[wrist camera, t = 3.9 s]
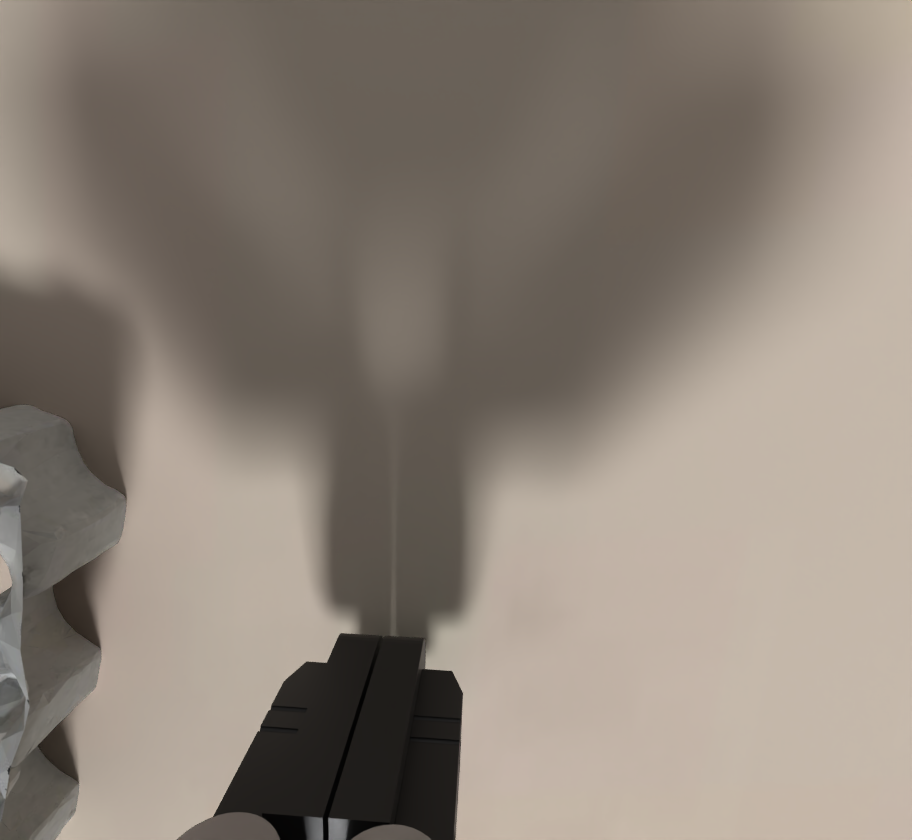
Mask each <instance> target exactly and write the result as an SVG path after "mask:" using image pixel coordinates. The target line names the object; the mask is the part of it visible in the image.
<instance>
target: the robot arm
mask: <svg viewBox="0 0 912 840" xmlns="http://www.w3.org/2000/svg"><path fill="white" fill-rule="evenodd" d="M425 656H426V642H425V638H410V637H394V636H384V637H382V636H376V635H360V634H345V633H341V634H340V635H339V637H338V639H337V641H336V643H335V646H334V648H333V650H332V653H331V655H330V657H329V659H328V662H327V663H319V662H306V663H304V664H303V665H302V666H301V667H300V668H299V669H298V670H296V671H295V672H294V673H293V674H292V675H291V676H290V677H288V678H287V679H286V680H285V681H284V682H283V684H282V686H281V688H280V690H279V692H278V694H277V696H276V698H275V700H274V702H273V703H272V705H271V710H269V711H268V713H267V715H266V717H265V719H264V721H263V723H262V724H261V728H260V732H259V731H258V732H257V734H256V736H255V738H254V740H253V742H252V744H251V745H250V747H249V749H248V751H247V753H246V755H245V757H244V759H243V761H242V763H241V765H240V766H239V768H238V770H237V772H236V774H235V776H234V778H233V780H232V782H231V784H230V786H229V788H228V789H227V791H226V793H225V795H224V797H223V799H222V801H221V803H220V805H219V807H218V809H217V810H216V812H215V814H214V816H213V817H212V818H209V819H207V820H205V821H203V822H201V823H199V824H197V825H195V826H194V827H192V828H191V829H189V830H188V831H186V832H185V833H184V834H183V835H181V836H180V837H179V838H178V839H177V840H455V838H456V821H457V805H458V788H459V772H460V749H461V725H462V701H463V693H462V690H461V688H460V686H459V684H458V682H457V680H456V678H455V676H454V674H453V672H452V671H442V670H427V669H425Z"/></svg>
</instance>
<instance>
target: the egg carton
mask: <svg viewBox="0 0 912 840" xmlns="http://www.w3.org/2000/svg"><path fill="white" fill-rule="evenodd" d="M125 513H126V498H125V496H124V495H123V494H121V493H120V492H119V491H118V490H116V489H113V488H111V487H109V486H107V485H106V484H104V483H103V482H101V481H100V480H99V479H98V478H97V477H96V476H95V475H93V474H92V473H91V472H90V470H89V469H88V468H87V466H86V465H85V464H84V462H83V460H82V457H81V455H80V453H79V451H78V449H77V446H76V442H75V438H74V434H73V428H72V426H71V425H70V423H69V422H68V421H67V420H66V419H64V418H61V417H59V416H57V415H54V414H51V413H48V412H45V411H42V410H40V409H38V408H37V407H35V406H32V405H15V406H11V407H6V408H2V409H0V555H1V556H2V558H3V559H4V561H5V563H6V564H7V566H8V567H9V571H10V575H11V579H12V587H10V588H9V589H7V590H6V591H4V592H3V593H1V594H0V840H55V839H56V838H57V836H58V835H59V834H60V832H61V830H62V828H63V827H64V826H65V825H66V823H67V822H68V821H69V820H70V819H71V817H72V816H73V815H74V813H75V811H76V805H77V799H78V793H79V783H78V782H77V781H76V780H75V779H73V778H72V777H70V776H68V775H66V774H65V773H63V772H61V771H60V770H59V769H57V768H56V767H55V766H54V765H53V764H52V763H51V762H50V761H49V760H48V759H46V757H45V756H44V755H43V754H42V752H41V751H40V749H39V747H38V746H37V745H38V744H39V743H40V742H41V741H42V740H43V739H44V738H45V737H46V736H47V735H48V734H49V733H50V732H51V731H52V730H53V729H54V728H55V727H56V726H57V725H58V724H59V723H60V722H61V721H62V720H63V719H64V718H65V717H66V716H67V715H68V714H69V713H70V712H71V711H72V710H73V709H74V708H75V707H76V706H77V705H78V704H79V703H80V702H81V701H82V700H83V699H84V698H85V697H86V696H87V695H88V694H90V693H91V692H92V691H93V690H94V688H95V687H96V684H97V680H98V673H99V667H100V663H101V649H100V648H99V647H97V646H96V645H94V644H93V643H91V642H90V641H88V640H87V639H86V638H84V637H83V636H81V635H80V634H78V633H76V632H75V631H74V630H73V629H72V627H71V626H70V625H69V624H68V623H67V622H66V621H65V620H64V618H63V617H62V615H61V613H60V611H59V610H58V608H57V606H56V601H55V596H54V592H53V585H54V584H56V583H58V582H59V581H61V580H62V579H64V578H65V577H66V576H68V575H69V574H70V573H72V572H73V571H75V570H76V569H78V568H79V567H81V566H83V565H85V564H86V563H88V562H90V561H92V560H93V559H95V558H96V557H98V556H99V555H100V554H102V553H103V552H104V551H106V550H108V549H109V548H111V547H112V546H114V545H116V544H117V543H118V542H119V539H120V537H121V534H122V530H123V527H124V520H125Z"/></svg>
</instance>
